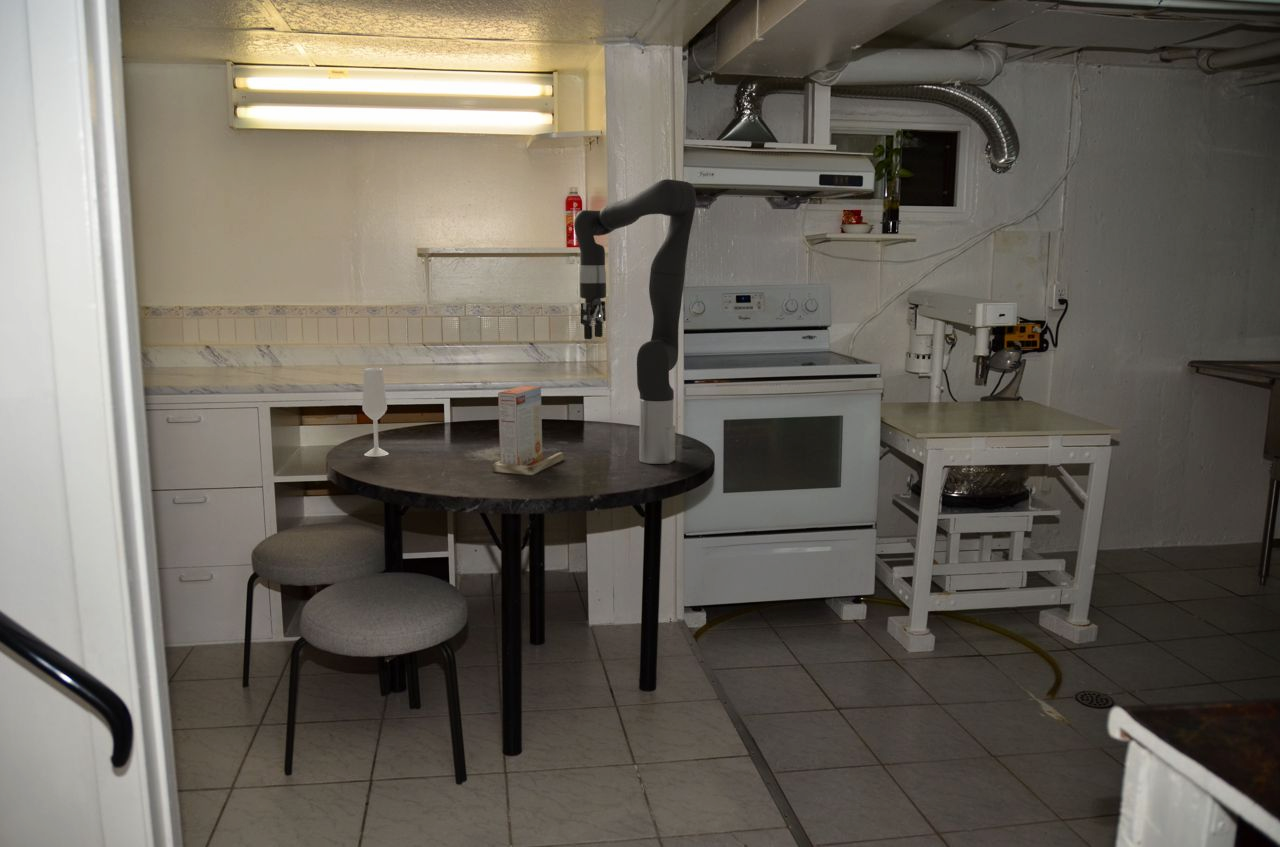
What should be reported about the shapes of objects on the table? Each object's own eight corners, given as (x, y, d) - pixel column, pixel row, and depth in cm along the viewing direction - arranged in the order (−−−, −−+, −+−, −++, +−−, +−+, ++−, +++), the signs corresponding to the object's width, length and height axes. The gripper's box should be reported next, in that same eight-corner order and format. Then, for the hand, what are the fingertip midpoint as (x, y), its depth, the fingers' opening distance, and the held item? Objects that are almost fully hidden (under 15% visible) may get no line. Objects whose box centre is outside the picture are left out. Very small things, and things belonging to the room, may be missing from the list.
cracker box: (523, 460, 270) (522, 384, 266) (543, 462, 268) (542, 386, 264) (498, 470, 257) (497, 391, 253) (518, 472, 255) (517, 392, 251)
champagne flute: (382, 457, 272) (379, 370, 268) (359, 455, 273) (356, 370, 269) (393, 452, 279) (390, 368, 274) (371, 451, 280) (367, 367, 276)
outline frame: (563, 459, 271) (563, 452, 270) (532, 475, 252) (532, 467, 252) (525, 456, 274) (525, 449, 274) (492, 471, 256) (492, 463, 255)
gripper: (596, 282, 274) (597, 340, 277) (613, 280, 288) (613, 336, 290) (571, 282, 276) (572, 339, 279) (589, 280, 290) (590, 335, 293)
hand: (593, 338), depth 285 cm, fingers open, 8 cm apart
